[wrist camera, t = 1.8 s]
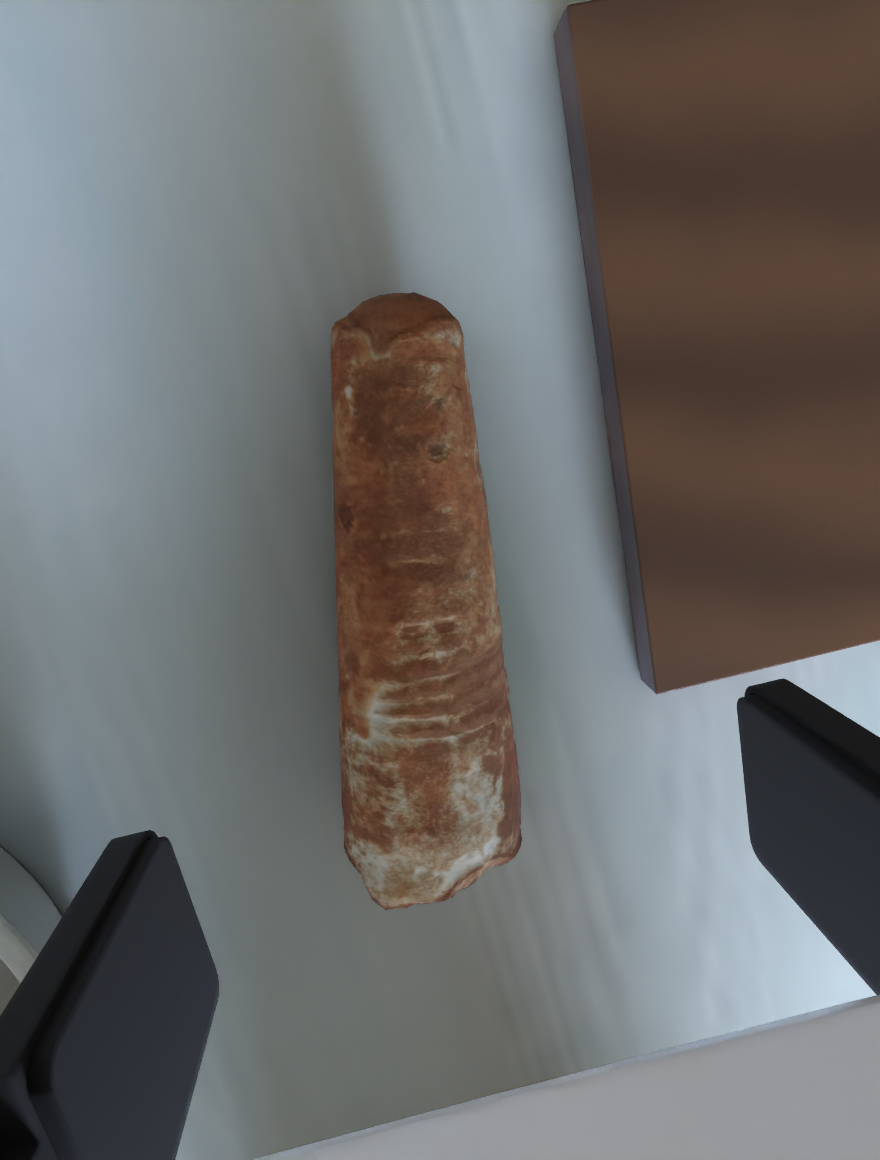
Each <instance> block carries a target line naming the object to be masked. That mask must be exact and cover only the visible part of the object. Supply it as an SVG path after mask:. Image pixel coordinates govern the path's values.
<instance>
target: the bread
mask: <svg viewBox="0 0 880 1160" xmlns="http://www.w3.org/2000/svg"><path fill="white" fill-rule="evenodd" d="M331 378H332V406H333V470H334V534H335V569H336V607H337V645H338V667H339V703H340V731H339V738H340V748H341V781H342V808H343V816H344V849H345V852H346V854H347V856H348V858H349V860H350V862H351V863H352V864H353V866H354V867H355V868H356V869H357V870H358V872H359V873H360V874H361V875H362V878H363V880H364V883H365V885H366V888H367V890H368V892H369V894H370V896H371V898H372V900H373V901H375V902H376V903H377V904H378V905H379V906H381V907H382V908H384V909H385V910H389V909H395V908H407V907H410V906H412V905H414V904H418V903H423V904H426V903H430V902H440V901H445V900H447V899H449V898H452V897H453V896H454V895H455V894H456V893H457V892H458V891H460V890H462V889H464V888H467V887H468V886H470V885H471V884H473V883H475V881H476V880H477V879H478V878H479V877H480V876H482V875H483V873H484V872H485V871H486V870H488V869H489V868H491V867H493V866H500V865H502V864H505V863H507V862H509V861H510V860H512V859H513V858H514V857H515V856H516V854H517V853H518V851H519V849H520V846H521V841H522V837H521V829H520V824H521V815H520V806H521V794H520V783H519V774H518V763H517V754H516V745H515V741H514V738H513V725H512V717H511V710H510V704H509V697H508V695H509V688H508V681H507V674H506V670H505V668H504V659H503V651H502V628H501V619H500V611H499V606H498V601H497V590H496V581H495V566H494V558H493V550H492V543H491V537H490V531H489V522H488V513H487V504H486V495H485V491H484V484H483V477H482V471H481V467H480V462H479V454H478V443H477V435H476V428H475V421H474V414H473V407H472V401H471V396H470V388H469V381H468V376H467V371H466V366H465V355H464V339H463V333H462V329H461V326H460V323H459V321H458V320H457V319H456V318H455V317H454V316H453V315H452V314H451V313H450V312H449V311H448V310H447V309H446V308H445V307H444V306H443V305H441V304H440V303H439V302H438V301H436V300H432V299H430V298H427V297H425V296H423V295H420V294H417V293H392V294H386V295H379V296H377V297H374V298H371V299H368V300H366V301H364V302H362V303H361V304H360V305H359V306H357V307H356V308H355V309H354V310H353V311H352V312H350V313H349V314H348V316H346V317H344V318H343V319H341V320H339V321H337V322H335V324H334V326H333V327H332V333H331Z"/></svg>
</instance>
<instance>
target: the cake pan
mask: <svg viewBox="0 0 880 1160" xmlns="http://www.w3.org/2000/svg"><path fill="white" fill-rule="evenodd" d="M61 918H62V916H61V915H60V913H59V912H58V910H57V908H56V907H55V905H54V904H53V902H52V900H51V899H50V898H49V896H48V895H47V894H46V893H45V891H44V890H43V889H42V888H41V886H40V885H39V884H38V883H37V881H36V880H35V879H34V878H33V877H32V876H31V875H30V874H29V873H28V872H27V871H26V870H25V869H24V868H23V867H22V866H21V865H20V864H19V863H18V862H17V861H16V860H15V859H14V858H13V857H12V856H11V855H10V854H9V853H7V852H6V851H5V850H4V849H2V848H1V847H0V1016H1V1014H2V1012H3V1011H4V1009H5V1008H6V1006H7V1004H8V1003H9V1001H10V1000H11V998H12V996H13V995H14V993H15V992H16V990H17V988H18V987H19V985H20V984H21V982H22V980H23V979H24V977H25V976H26V974H27V972H28V971H29V969H30V968H31V966H32V965H33V963H34V961H35V960H36V958H37V957H38V955H39V953H40V952H41V950H42V949H43V947H44V945H45V944H46V942H47V941H48V939H49V937H50V936H51V934H52V933H53V931H54V929H55V928H56V926H57V925H58V923H59V921H60V920H61Z"/></svg>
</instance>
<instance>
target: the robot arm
mask: <svg viewBox="0 0 880 1160" xmlns="http://www.w3.org/2000/svg"><path fill="white" fill-rule="evenodd" d="M737 713H738V723H739V733H740V743H741V753H742V763H743V773H744V783H745V793H746V803H747V813H748V823H749V833H750V840H751V844H752V847H753V850H754V852H755V854H756V856H757V858H758V859H759V861H760V862H761V863H762V865H763V866H764V867H765V868H766V869H767V870H768V871H769V873H770V874H771V875H772V876H773V877H774V878H775V879H776V881H777V882H778V883H779V884H780V885H781V886H782V887H783V889H784V890H785V891H786V892H787V893H788V894H789V895H790V897H791V898H792V899H793V900H794V901H795V902H796V903H797V905H798V906H799V907H800V908H801V909H802V910H803V911H804V913H805V914H806V915H807V916H808V917H809V918H810V919H811V921H812V922H813V923H814V924H815V925H816V926H817V927H818V929H819V930H820V931H821V932H822V933H823V934H824V935H825V936H826V938H827V939H828V940H829V941H830V942H831V943H832V944H833V946H834V947H835V948H836V949H837V950H838V951H839V952H840V954H841V955H842V956H843V957H844V958H845V959H846V960H847V962H848V963H849V964H850V965H851V966H852V967H853V968H854V970H855V971H856V972H857V973H858V974H859V975H860V976H861V978H862V979H863V980H864V981H865V982H866V983H867V984H868V986H869V987H870V988H871V989H872V990H873V991H874V992H875V994H876V995H877V996H873V997H868V998H864V999H860V1000H856V1001H852V1002H848V1003H844V1004H840V1005H836V1006H832V1007H828V1008H825V1009H821V1010H817V1011H813V1012H809V1013H805V1014H801V1015H797V1016H793V1017H790V1018H786V1019H782V1020H778V1021H774V1022H770V1023H766V1024H762V1025H758V1026H755V1027H751V1028H747V1029H743V1030H739V1031H735V1032H731V1033H727V1034H723V1035H719V1036H716V1037H712V1038H708V1039H704V1040H700V1041H696V1042H692V1043H688V1044H684V1045H681V1046H677V1047H673V1048H669V1049H665V1050H661V1051H657V1052H654V1053H650V1054H646V1055H642V1056H638V1057H634V1058H631V1059H627V1060H623V1061H619V1062H615V1063H612V1064H608V1065H604V1066H600V1067H596V1068H593V1069H589V1070H585V1071H581V1072H577V1073H574V1074H570V1075H566V1076H562V1077H558V1078H555V1079H551V1080H547V1081H543V1082H539V1083H536V1084H532V1085H528V1086H524V1087H521V1088H517V1089H513V1090H509V1091H505V1092H502V1093H498V1094H494V1095H490V1096H487V1097H483V1098H479V1099H475V1100H472V1101H468V1102H464V1103H460V1104H456V1105H453V1106H449V1107H445V1108H441V1109H438V1110H434V1111H430V1112H426V1113H423V1114H419V1115H415V1116H411V1117H408V1118H404V1119H400V1120H397V1121H393V1122H389V1123H386V1124H382V1125H378V1126H374V1127H371V1128H367V1129H363V1130H360V1131H356V1132H352V1133H349V1134H345V1135H341V1136H338V1137H334V1138H330V1139H327V1140H323V1141H319V1142H315V1143H312V1144H308V1145H304V1146H301V1147H297V1148H293V1149H290V1150H286V1151H282V1152H279V1153H275V1154H271V1155H268V1156H264V1157H260V1158H256V1159H253V1160H880V737H878V736H876V735H875V734H873V733H872V732H870V731H868V730H867V729H865V728H864V727H862V726H860V725H859V724H857V723H856V722H854V721H852V720H851V719H849V718H848V717H846V716H844V715H843V714H841V713H840V712H838V711H836V710H835V709H833V708H832V707H830V706H828V705H827V704H825V703H824V702H822V701H820V700H819V699H817V698H816V697H814V696H812V695H811V694H809V693H808V692H806V691H804V690H803V689H801V688H800V687H798V686H796V685H795V684H793V683H792V682H790V681H788V680H786V679H779V680H774V681H770V682H766V683H762V684H758V685H753V686H749V687H748V688H747V689H746V692H745V697H742V698H740V699H739V700H738V702H737ZM218 997H219V979H218V974H217V970H216V967H215V964H214V962H213V959H212V956H211V953H210V951H209V948H208V945H207V942H206V939H205V937H204V934H203V931H202V928H201V926H200V923H199V920H198V917H197V915H196V912H195V909H194V906H193V904H192V901H191V898H190V895H189V892H188V890H187V887H186V884H185V881H184V879H183V876H182V873H181V870H180V868H179V865H178V862H177V859H176V856H175V854H174V851H173V848H172V845H171V843H170V841H169V840H168V838H167V837H164V836H163V837H159V838H158V836H157V835H156V833H155V832H154V831H151V830H148V831H144V832H140V833H135V834H131V835H127V836H123V837H119V838H115V839H112V840H111V841H110V842H109V843H108V845H107V847H106V848H105V850H104V851H103V853H102V854H101V856H100V858H99V859H98V861H97V862H96V864H95V866H94V867H93V869H92V870H91V872H90V874H89V875H88V877H87V878H86V880H85V882H84V883H83V885H82V886H81V888H80V890H79V891H78V893H77V894H76V896H75V898H74V899H73V901H72V902H71V904H70V906H69V907H68V909H67V910H66V912H65V913H64V915H63V917H62V918H61V920H60V921H59V923H58V925H57V926H56V928H55V929H54V931H53V933H52V934H51V936H50V937H49V939H48V941H47V942H46V944H45V945H44V947H43V949H42V950H41V952H40V953H39V955H38V957H37V958H36V960H35V961H34V963H33V965H32V966H31V968H30V969H29V971H28V972H27V974H26V976H25V977H24V979H23V980H22V982H21V984H20V985H19V987H18V988H17V990H16V992H15V993H14V995H13V996H12V998H11V1000H10V1001H9V1003H8V1004H7V1006H6V1008H5V1009H4V1011H3V1012H2V1014H1V1016H0V1160H175V1158H176V1154H177V1151H178V1147H179V1143H180V1139H181V1136H182V1132H183V1128H184V1125H185V1121H186V1117H187V1113H188V1110H189V1106H190V1102H191V1098H192V1095H193V1091H194V1087H195V1084H196V1080H197V1076H198V1072H199V1069H200V1065H201V1061H202V1057H203V1054H204V1050H205V1046H206V1043H207V1039H208V1035H209V1031H210V1028H211V1024H212V1020H213V1017H214V1013H215V1009H216V1005H217V1002H218Z"/></svg>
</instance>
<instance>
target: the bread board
mask: <svg viewBox="0 0 880 1160" xmlns="http://www.w3.org/2000/svg"><path fill="white" fill-rule="evenodd" d="M554 42H555V49H556V57H557V64H558V71H559V79H560V86H561V93H562V101H563V108H564V115H565V123H566V130H567V138H568V145H569V152H570V160H571V167H572V174H573V182H574V189H575V197H576V204H577V211H578V219H579V226H580V233H581V241H582V248H583V256H584V263H585V270H586V278H587V285H588V292H589V300H590V307H591V315H592V322H593V329H594V337H595V344H596V351H597V359H598V366H599V374H600V381H601V388H602V396H603V403H604V410H605V418H606V425H607V433H608V440H609V447H610V455H611V462H612V469H613V477H614V484H615V491H616V499H617V506H618V514H619V521H620V528H621V536H622V543H623V550H624V558H625V565H626V573H627V580H628V587H629V595H630V602H631V609H632V617H633V624H634V632H635V639H636V646H637V654H638V661H639V668H640V676H641V680H642V681H643V682H644V683H645V684H646V685H647V686H648V687H649V688H650V689H651V690H652V691H653V692H654V693H656V694H662V693H666V692H670V691H674V690H678V689H682V688H686V687H691V686H695V685H699V684H703V683H707V682H711V681H715V680H719V679H723V678H727V677H731V676H736V675H740V674H744V673H748V672H752V671H756V670H760V669H764V668H768V667H772V666H777V665H781V664H785V663H789V662H793V661H797V660H801V659H805V658H809V657H813V656H818V655H822V654H826V653H830V652H834V651H838V650H842V649H846V648H850V647H854V646H859V645H863V644H867V643H871V642H875V641H879V640H880V0H592V1H587V2H581V3H576V4H571V5H568V6H567V7H566V9H565V11H564V13H563V15H562V17H561V19H560V21H559V23H558V25H557V27H556V29H555V31H554Z"/></svg>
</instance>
